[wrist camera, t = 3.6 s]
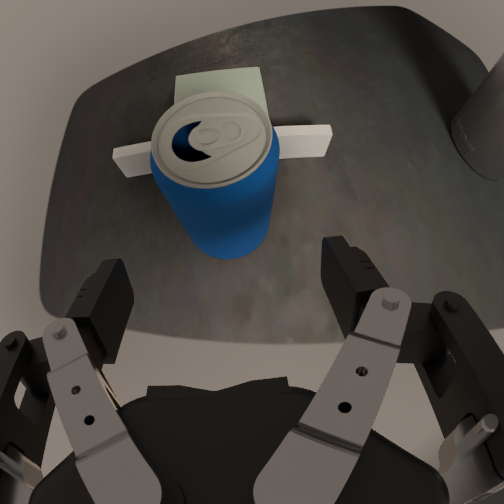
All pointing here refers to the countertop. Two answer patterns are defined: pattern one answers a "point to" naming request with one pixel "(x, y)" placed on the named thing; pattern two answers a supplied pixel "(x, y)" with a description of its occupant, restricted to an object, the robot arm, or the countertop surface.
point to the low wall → (290, 137)
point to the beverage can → (217, 170)
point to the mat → (223, 84)
